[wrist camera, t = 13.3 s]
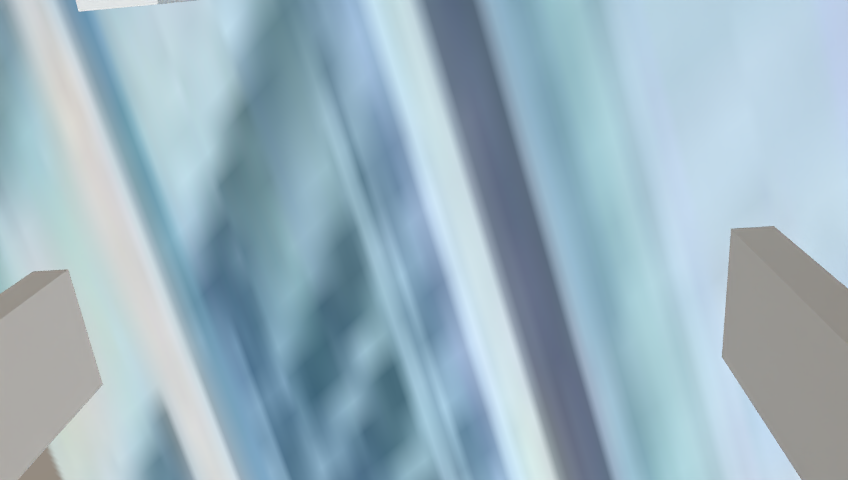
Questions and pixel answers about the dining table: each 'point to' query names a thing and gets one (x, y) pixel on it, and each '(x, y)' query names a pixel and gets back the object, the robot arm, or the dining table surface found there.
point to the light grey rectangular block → (118, 3)
